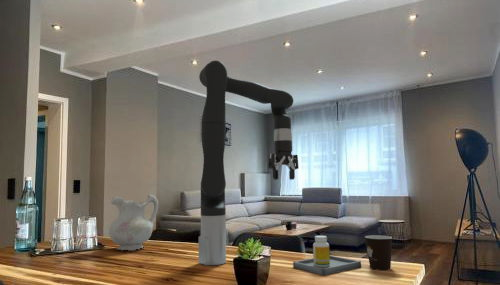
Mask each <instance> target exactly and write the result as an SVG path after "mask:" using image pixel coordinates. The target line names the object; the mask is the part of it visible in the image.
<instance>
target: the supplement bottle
mask: <svg viewBox="0 0 500 285" xmlns="http://www.w3.org/2000/svg"><path fill="white" fill-rule="evenodd" d="M327 240H328V237H327V236H326V235H314V241H315V242H314V243H313V244H312V251H313V252H312V255H313V257H312V258H313V261H314V266H317V267H328V266H329V265H330V255H331V254H330V244H329V243H328V242H327Z"/></svg>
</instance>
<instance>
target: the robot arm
mask: <svg viewBox="0 0 500 285" xmlns="http://www.w3.org/2000/svg"><path fill="white" fill-rule="evenodd" d="M199 81H200V83H201V85H202V86H203V87H205V88H206V98H205V104H204V107H203V110H202V117H201V122H200V123H201V125H200V127H201V130H200V131H201V132H200V133H201V134H200V135H201V146H202V147H201V148H202V154H203V164H202V175H201V181H200V236H198V263H199V264H201V265H203V266H218V265H223V264H226V263H227V238H226V237H227V231H226V230H227V228H226V226H227V225H226V224H227V221H226V220H227V219H226V218H227V217H226V215H227V214H226V213H227V211H226V186H227V183H226V176H225V175H226V174H225V165H224V164H225V163H224V160H225V159H224V156H225V149H226V147H225V146H226V136H227V135H226V129H227V128H226V127H227V125H226V124H227V123H226V122H227V120H226V119H227V118H226V93H229V94H234V95H237V96H241V97H243V98H246V99H250V100H252V101H255V102H256V103H260V104H263V105H265V104H266V105H267V104H270V109H271V114H272V117H273V130H274V131H273V147H274V148H273V150H274V153H268V169H270V170H272V178H273V180H276V181H277V180H279V168H280V167H281V166H282V165H283V166H286V167H287V168H288V169H289V174H288V175H289V180H290V181H291V180H295V178H296V176H295V175H296V174H295V171H296V170H298V169H299V159H298V158H299V157H298V156H299V155H297V154H292V152H293V134H292V122H291V120H292V118H291V117H290V116H289V115H287V112H286V110H287V109H289V108H291V107H292V106H293V104H294V98H293V95H292V94H291V93H289V92H287V91H286V90H281V89H277V88H271V87H269V86H268V87H267V86H265V85H262V84H261V83H258V82H254V81H249V80H242V79H237V78H234V77H230V76H228V70H227V68H226V66H225V64H224V63H223V62H221V61H220V60H212V61H210V62H208V63H207V64H206V65H205V66H204V67H203V68H202V70H200V73H199Z"/></svg>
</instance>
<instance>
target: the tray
mask: <svg viewBox="0 0 500 285" xmlns="http://www.w3.org/2000/svg"><path fill="white" fill-rule="evenodd" d="M329 255H330V265H329V266H328V267H317V266H314V261H313V257H311V258H307V259H302V260H296V261H293V262H292V264H293V265H292V268H294V269H298V270H302V271H306V272H309V273H313V274H317V275H321V276H327V275H331V274H335V273H336V274H337V273H340V272H344V271H348V270H353V269H357V268H361V267H362V262H361V260H355V259H351V258H345V257H340V256H335V255H331V254H329Z"/></svg>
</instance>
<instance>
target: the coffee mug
mask: <svg viewBox="0 0 500 285" xmlns="http://www.w3.org/2000/svg"><path fill="white" fill-rule="evenodd" d="M364 238H365V241H364V245H365V248H366V250H367V251H366V252H367V257H368V263H369V268H370V269H371V268H372V269H371V270H375V269H378V270H377V271H389V270H388V269H390V268H392V249H393V248H392V247H393V246H392V245H393V237H392V236H389V235H378V234H377V235H376V234H375V235H373V234H372V235H366V236H364ZM390 270H391V269H390Z"/></svg>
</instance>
